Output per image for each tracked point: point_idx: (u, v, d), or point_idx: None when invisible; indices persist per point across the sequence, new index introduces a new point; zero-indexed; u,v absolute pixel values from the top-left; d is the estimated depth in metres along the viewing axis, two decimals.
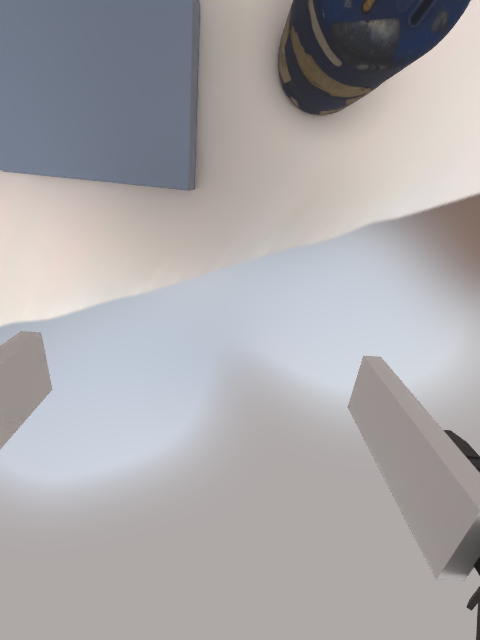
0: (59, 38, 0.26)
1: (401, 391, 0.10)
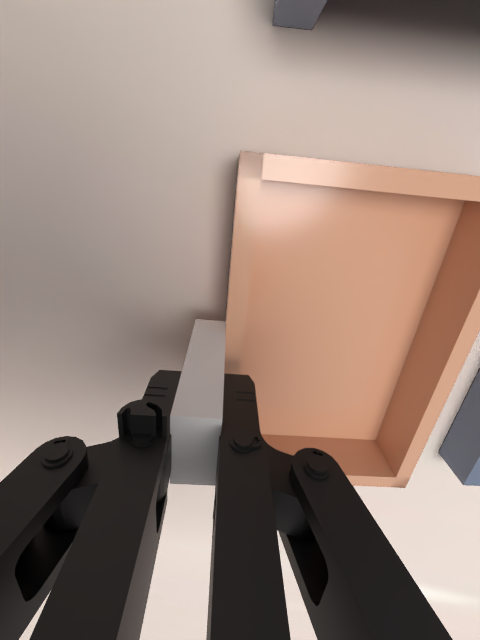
0: None
1: (217, 344, 0.12)
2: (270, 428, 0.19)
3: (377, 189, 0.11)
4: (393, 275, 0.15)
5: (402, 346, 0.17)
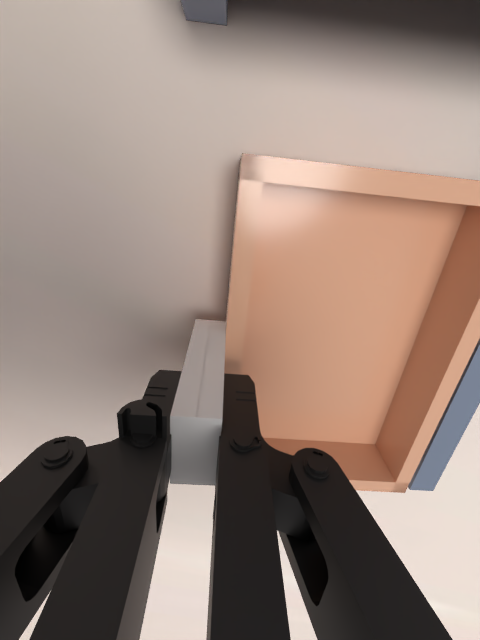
0: None
1: (217, 344, 0.12)
2: (269, 431, 0.19)
3: (379, 193, 0.11)
4: (394, 279, 0.15)
5: (403, 350, 0.17)
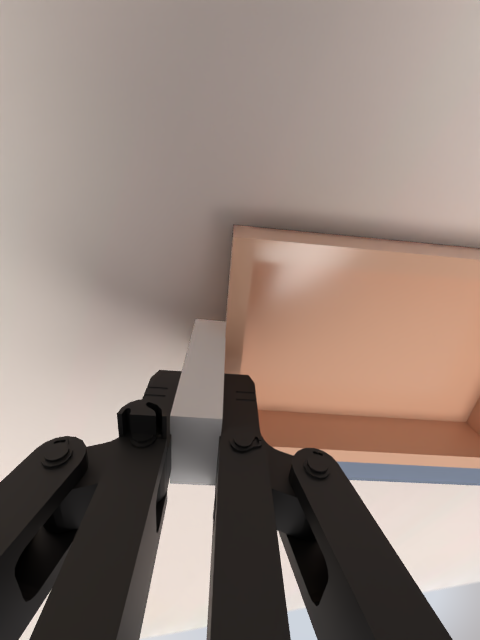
0: None
1: (217, 344, 0.12)
2: (253, 298, 0.15)
3: None
4: (421, 389, 0.18)
5: (348, 409, 0.18)
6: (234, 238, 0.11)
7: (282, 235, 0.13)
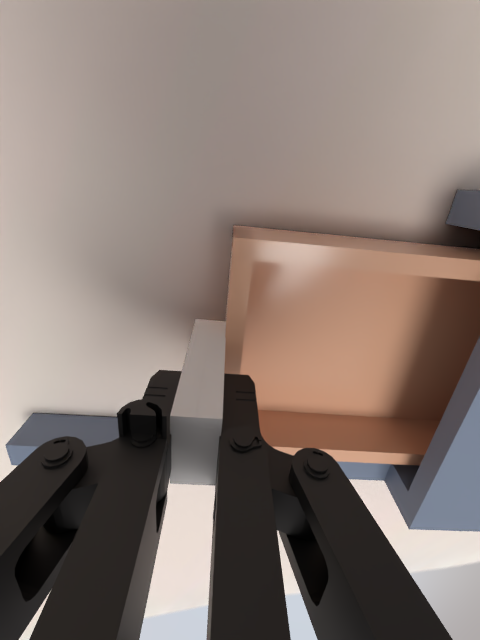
0: None
1: (217, 344, 0.12)
2: (253, 298, 0.15)
3: None
4: (420, 389, 0.18)
5: (348, 409, 0.18)
6: (234, 238, 0.11)
7: (282, 235, 0.13)
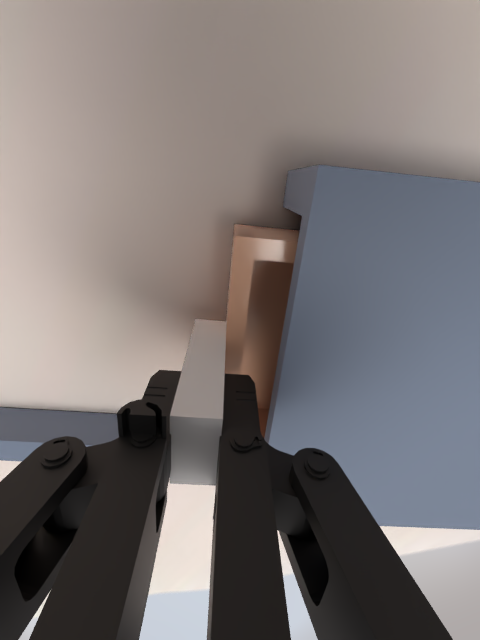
0: (474, 343, 0.11)
1: (217, 344, 0.12)
2: (254, 297, 0.15)
3: None
4: None
5: None
6: (235, 237, 0.11)
7: (283, 234, 0.13)
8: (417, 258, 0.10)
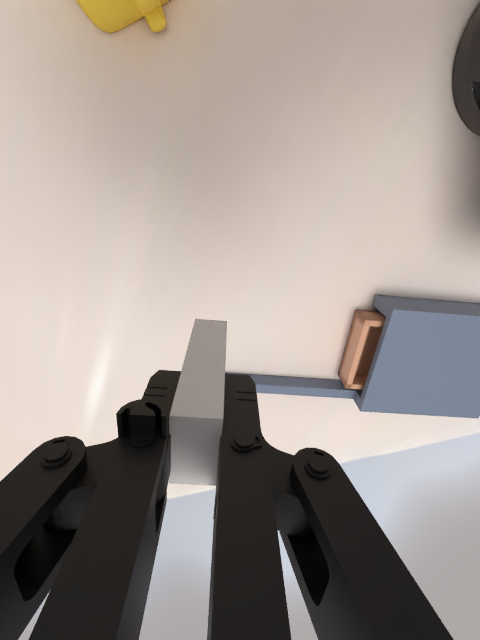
0: (432, 350, 0.40)
1: (217, 344, 0.12)
2: None
3: None
4: None
5: None
6: (365, 320, 0.40)
7: (375, 316, 0.41)
8: (416, 328, 0.39)
